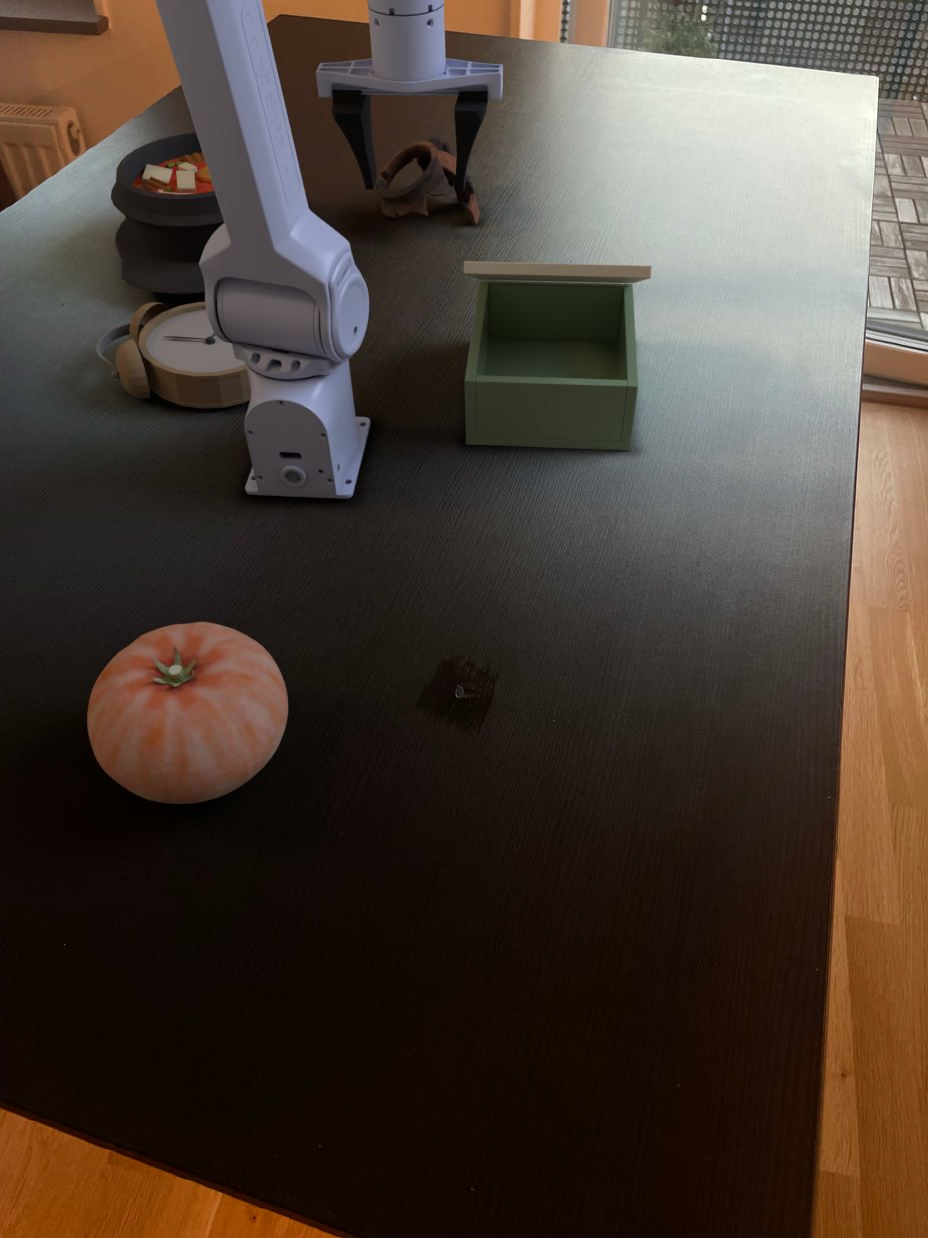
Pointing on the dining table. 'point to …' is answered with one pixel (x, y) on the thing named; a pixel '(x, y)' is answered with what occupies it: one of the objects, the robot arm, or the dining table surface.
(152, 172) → the casserole
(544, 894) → the dining table surface
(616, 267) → the box lid
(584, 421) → the open box
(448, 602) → the dining table surface
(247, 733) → the tomato
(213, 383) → the alarm clock
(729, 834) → the dining table surface
